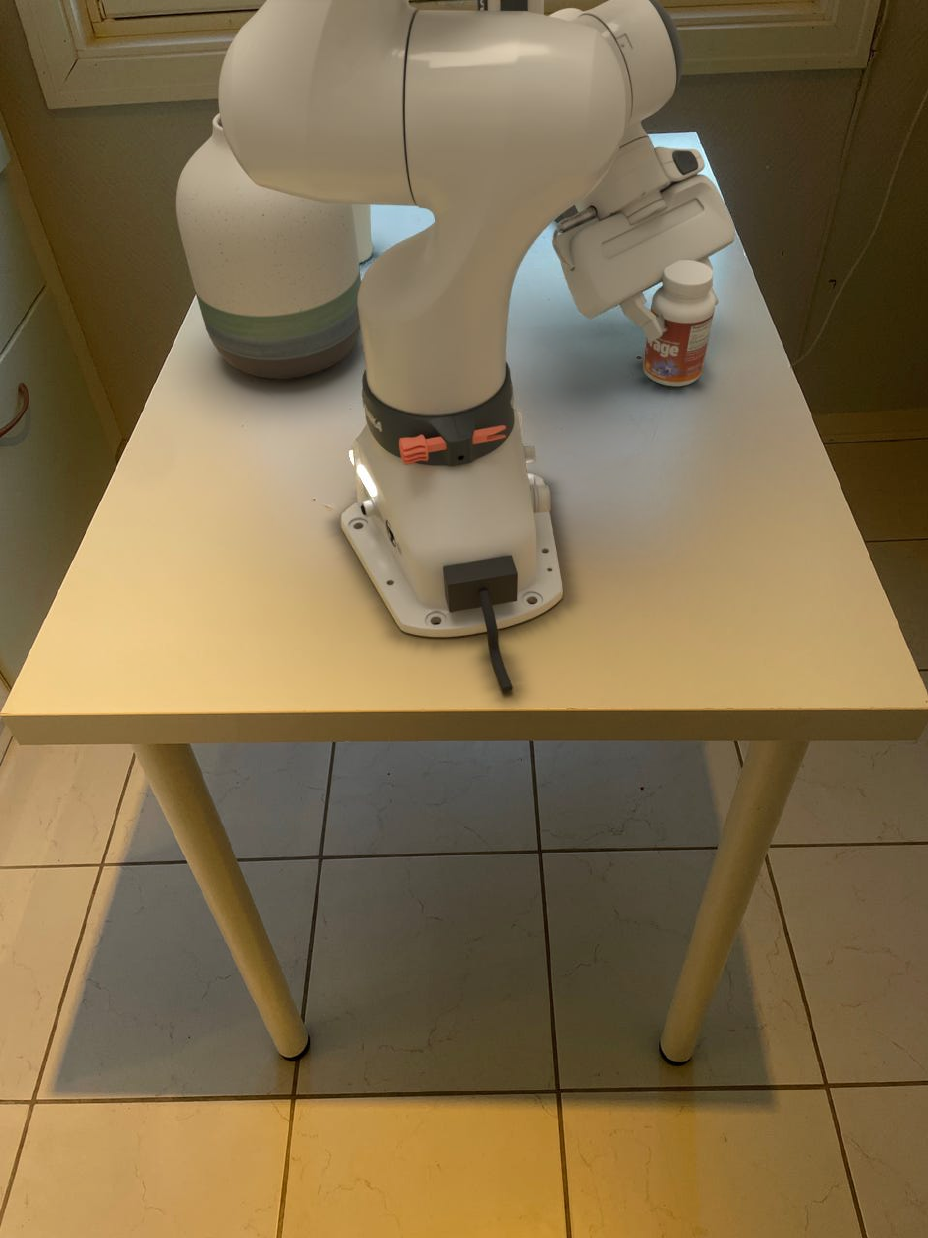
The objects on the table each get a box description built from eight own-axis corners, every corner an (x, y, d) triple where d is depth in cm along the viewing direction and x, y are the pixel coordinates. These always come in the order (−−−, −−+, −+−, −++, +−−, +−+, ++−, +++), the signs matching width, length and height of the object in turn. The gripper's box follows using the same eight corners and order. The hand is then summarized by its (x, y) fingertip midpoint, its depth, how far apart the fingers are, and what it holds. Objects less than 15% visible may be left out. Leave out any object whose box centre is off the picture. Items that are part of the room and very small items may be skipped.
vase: (399, 352, 101) (378, 117, 83) (267, 415, 94) (213, 174, 76) (312, 293, 110) (276, 69, 92) (185, 347, 103) (119, 116, 85)
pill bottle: (629, 367, 98) (642, 267, 89) (674, 348, 100) (690, 249, 92) (669, 395, 94) (686, 294, 86) (714, 375, 96) (735, 274, 88)
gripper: (563, 211, 83) (634, 352, 85) (710, 145, 91) (770, 274, 94) (527, 242, 88) (594, 373, 91) (669, 177, 97) (727, 298, 99)
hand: (685, 322), depth 92 cm, fingers closed on pill bottle, 6 cm apart
